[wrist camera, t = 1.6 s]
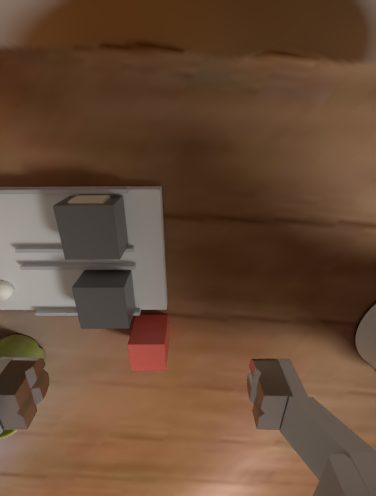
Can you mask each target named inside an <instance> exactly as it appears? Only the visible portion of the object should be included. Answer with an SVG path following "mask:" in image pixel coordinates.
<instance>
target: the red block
mask: <svg viewBox="0 0 376 496" xmlns="http://www.w3.org/2000/svg"><path fill="white" fill-rule="evenodd" d="M168 348H169V322H168V315H140V316H136V317H135V321H134V324H133V328H132V331H131V335H130V338H129V342H128V351H129V358H130V365H131V371H166V368H167V358H168Z"/></svg>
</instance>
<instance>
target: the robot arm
mask: <svg viewBox="0 0 376 496" xmlns="http://www.w3.org/2000/svg"><path fill="white" fill-rule="evenodd" d="M355 342H356V348H357V351H358V353H359V354H360V356H361V357H362V358H363V359H364V360H365V361H366V362H368V363H369V364H370V365H371V366H373V367H374V368H375V369H376V304H375V305H374V306H373V307H372V308H371V309H370V310H369V311H368V312H367V313H366V315H365V316H364V317H363V319H362V321H361V322H360V324H359V326H358V329H357V332H356V339H355ZM44 366H45V362H44V359H43V358H23V357H1V358H0V434H1V433H2V432H3V430H18V429H28V427H29V425H30V424H31V422H32V420H33V418H34V416H35V414H36V412H37V407H36V405H37V404H38V403H39V402H40V401H42V400H43V399H44V397H45V395H46V393H47V390H48V386H49V375H48V373H47V372H46V371H45V370H44V369H43V368H44ZM249 367H250V370H251V371H250V372H249V373H248V377H247V389H248V395H249V399H250V401H251V402H252V403H253V404H254V405H253V411H252V412H253V416H254V420H255V424H256V428H257V429H267V430H280V432H281V433H282V435H283V436H284V437H285V438H286V440H287V441H288V442H289V443H290V444H291V446H292V447H293V448H294V449H295V451H296V452H297V453H298V454H299V456H300V457H301V458H302V459H303V461H304V462H305V463H306V464H307V466H308V467H309V468H310V469H311V471H312V472H313V473H314V474H315V476H316V477H317V478H318V479H319V483H318V485H317V487H316V490H315V492H314V494H313V496H376V451H375V450H374V449H373V448H372V447H371V446H369V445H368V444H367V443H366V442H365V441H363V440H362V439H361V438H360V437H359V436H358V435H356V434H355V433H354V432H353V431H352V430H351V429H349V428H348V427H347V426H346V425H345V424H343V423H342V422H341V421H340V420H339V419H338V418H336V417H335V416H334V415H333V414H332V413H331V412H329V411H328V410H327V409H326V408H325V407H323V406H322V405H321V404H320V403H319V402H318V401H316V400H315V399H314V398H313V397H308V395H307V393H306V391H305V389H304V387H303V385H302V383H301V380H300V378H299V376H298V374H297V372H296V370H295V368H294V366H293V363H292V361H291V360H290V359H251V360H250V364H249Z"/></svg>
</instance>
